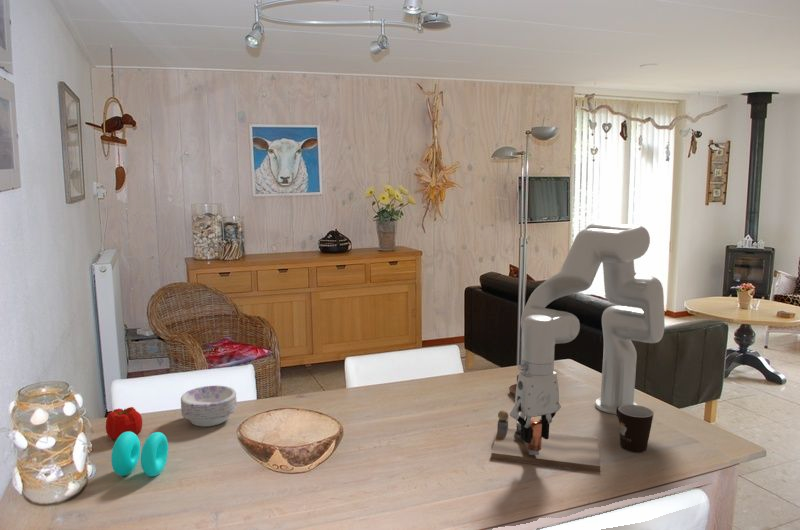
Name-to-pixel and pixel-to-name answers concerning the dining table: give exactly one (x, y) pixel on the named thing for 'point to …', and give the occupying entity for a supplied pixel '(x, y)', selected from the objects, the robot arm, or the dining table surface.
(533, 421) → the lever
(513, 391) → the cup and saucer
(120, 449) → the donuts
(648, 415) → the coffee mug
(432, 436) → the dining table surface
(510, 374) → the dining table surface
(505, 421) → the wooden lever base
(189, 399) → the paper bowls
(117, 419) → the tomato
